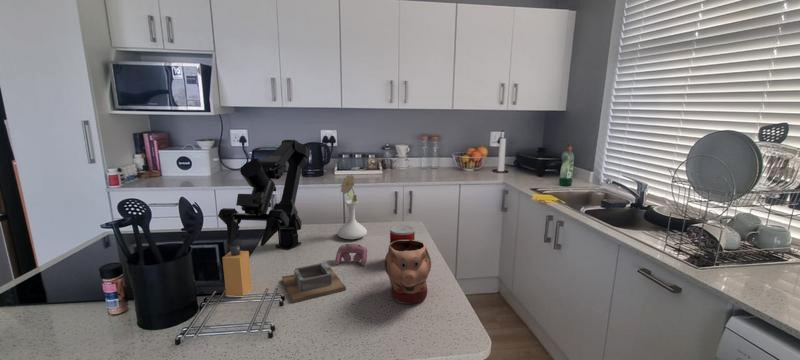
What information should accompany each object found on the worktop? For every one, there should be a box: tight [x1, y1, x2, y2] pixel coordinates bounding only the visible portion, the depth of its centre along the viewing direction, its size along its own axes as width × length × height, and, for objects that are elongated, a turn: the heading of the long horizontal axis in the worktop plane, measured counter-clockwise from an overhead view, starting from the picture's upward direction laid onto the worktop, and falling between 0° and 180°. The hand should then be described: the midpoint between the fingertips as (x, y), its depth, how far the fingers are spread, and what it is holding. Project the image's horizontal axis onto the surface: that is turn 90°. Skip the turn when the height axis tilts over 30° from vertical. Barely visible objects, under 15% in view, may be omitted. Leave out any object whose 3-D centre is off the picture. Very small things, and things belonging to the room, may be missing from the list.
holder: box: [281, 263, 347, 304], centre depth 100 cm, size 14×14×4 cm
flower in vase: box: [336, 173, 368, 240], centre depth 135 cm, size 13×11×25 cm
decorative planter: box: [384, 239, 432, 304], centre depth 95 cm, size 20×12×14 cm, turn 8°
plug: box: [222, 245, 253, 296], centre depth 95 cm, size 5×5×13 cm
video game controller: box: [334, 243, 368, 267], centre depth 115 cm, size 10×5×7 cm, turn 85°
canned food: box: [389, 224, 416, 245], centre depth 115 cm, size 8×8×11 cm
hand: (245, 245), depth 98 cm, fingers open, 9 cm apart
